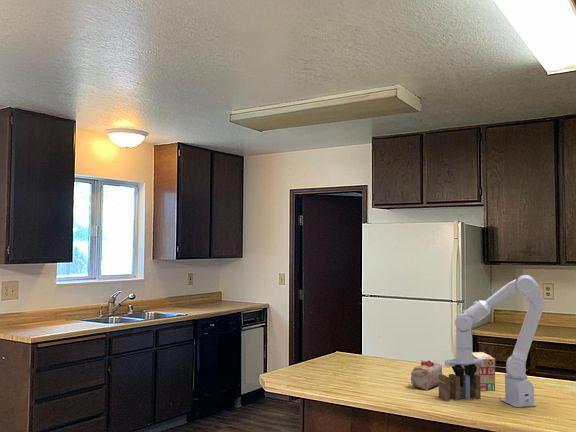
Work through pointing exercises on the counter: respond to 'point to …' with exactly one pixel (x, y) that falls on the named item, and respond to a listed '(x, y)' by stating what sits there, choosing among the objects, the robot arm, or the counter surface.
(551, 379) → the counter surface
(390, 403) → the counter surface
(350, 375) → the counter surface
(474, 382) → the domino
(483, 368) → the stack of blocks
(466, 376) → the placed domino
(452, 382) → the domino
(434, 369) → the food item
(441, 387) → the domino
